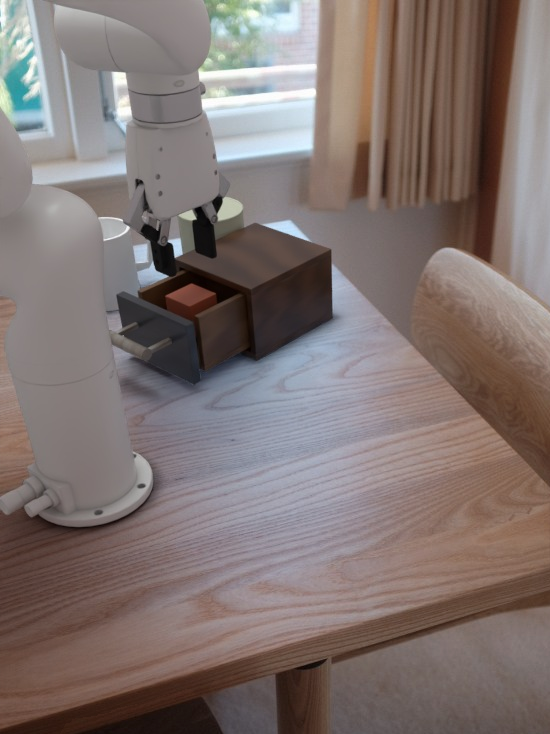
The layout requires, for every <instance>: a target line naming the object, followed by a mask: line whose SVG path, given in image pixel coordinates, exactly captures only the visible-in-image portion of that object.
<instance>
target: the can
mask: <svg viewBox="0 0 550 734" xmlns="http://www.w3.org/2000/svg"><path fill="white" fill-rule="evenodd" d="M217 216H218V221H217V223H216V224H214V232H215V240H217V239H219V238H221V237H223V236H226V235H228V234H230V233H233V232H235V231H237V230H239V229H242V228H244V227H245V219H244V218H245V217H244V205H243V203H242V202H240V201H239V200H237V199H235V198H231V197H229V196H225V197H224V199H223V203H222V206H221V208H220V210H219V212H218V214H217ZM176 217H177V225H178V231H179V239H180V245H181V252H182V254H181V255H183V254H185V253H187V252H189V251H192V250H194V249H195V245H194V237H193V228H192V220H195V219H196V217H195V215H194V213H193V211H192V210H189V211H187V212H184V213H182V214H179V215H177V216H176ZM196 220H197V219H196Z"/></svg>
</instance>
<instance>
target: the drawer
mask: <svg viewBox="0 0 550 734" xmlns="http://www.w3.org/2000/svg"><path fill="white" fill-rule="evenodd" d="M190 284H194V285H197V286H199V287H201V288H204V289H206V290H209V291H211V292H214V293H216V298H217V305H215V306H213V307H211V308H209V309H207V310H205V311H203V312H201V313H199V314H197V315H195V316H194V318H195V326H196V333H197V338H196V336H195V328H194V322H192V321H189V320H187V319H185V318H183V317H180V316H178V315H176V314H174V313H172V312H169V311H167V305H166V298H165V296H166V295H168V294H170V293H172V292H175V291H177V290H179V289H181V288H183V287H185V286H187V285H190ZM137 292H138V297H136V296H133V295H131V294H129V293H127V292H124V291H123V292H120V293H118V294H116V297H117V302H118V308H119V310H118V312H119V318H120V322H121V323H120V324H121V328H120V329H118V330H115V331H114V330H111V329H109V332H110V337H111V343H112V347H116V348H117V349H120V350H122V352H126V353H127V354H129V355H132V356H134V357H135V358H138V359H140V360H142V361H143V362H146V363H149V364H151V365H153V366H155V367H157V368H158V369H161V370H163V371H165V372H167V373H168V374H171V375H173V376H175V377H176V378H178V379H181V380H183V381H184V382H187V383H189V384H191V385H193V386H196V385H197V384H199V383H201V382H202V375H201V371H203V372H207V371H210V370H211V369H213V368H215V367H217V366H218V365H220V364H222V363H224V362H226V361H227V360H230V359H231V358H233V357H236V355H238V354H240V352H242V351H244V350H246V349H247V348H249V347H251V344H250V332H249V320H248V309H247V297H246V294H245V293H243V292H240V291H238V290H235V289H233V288H230V287H228V286H225V285H223V284H221V283H218V282H216V281H213V280H211V279H208V278H206V277H203V276H201V275H198V274H196V273H193V272H191V271H188V270H186V269H184V270H182V271H180V272H177V274H176V276H174V277H170V276H167V277H164V278H162V279H160V280H157V281H155V282H154V283H151V284H149V285H147V286H145V287H142V288H140V290H138V291H137Z"/></svg>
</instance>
